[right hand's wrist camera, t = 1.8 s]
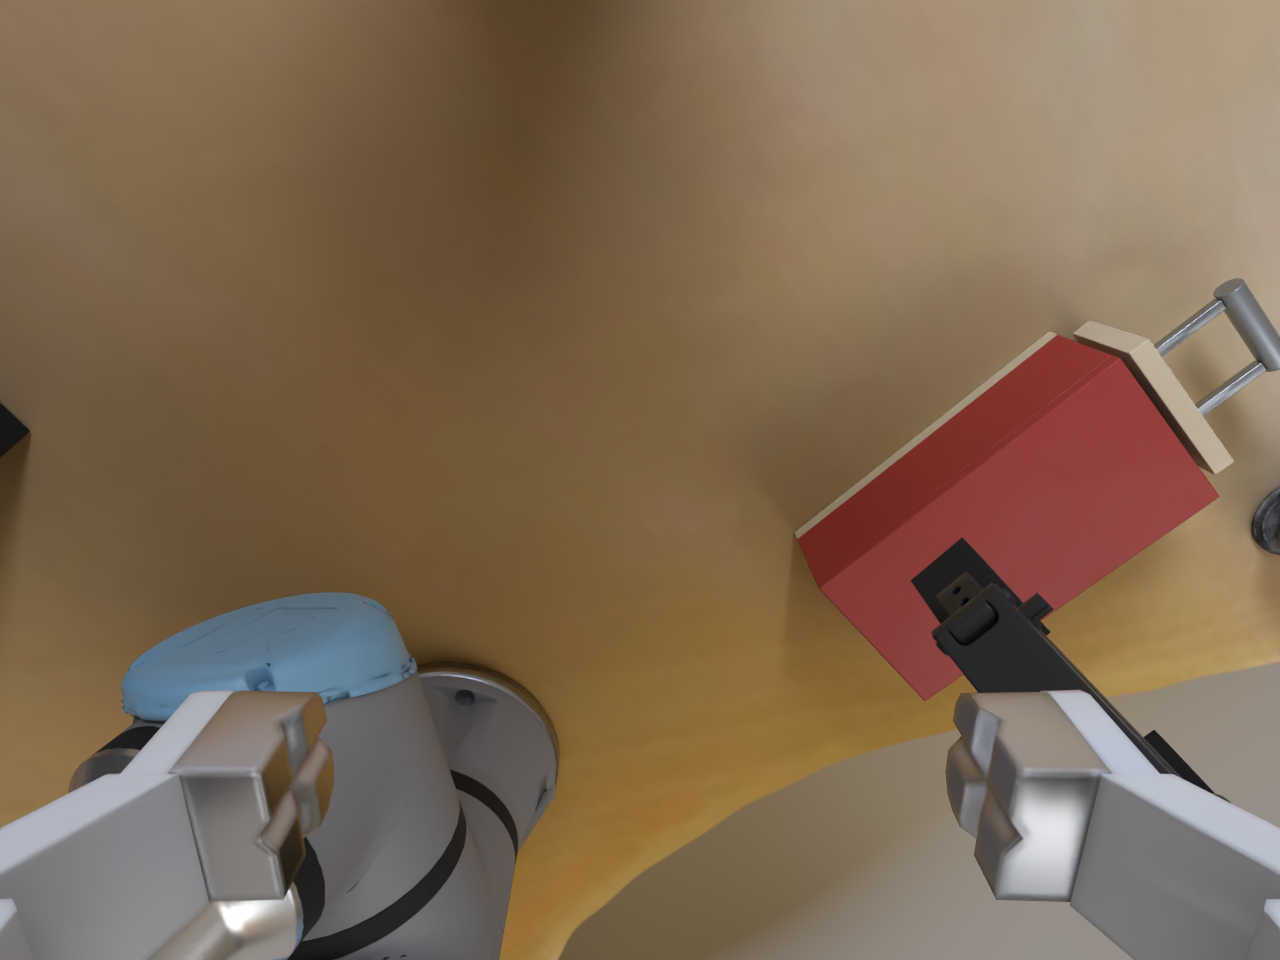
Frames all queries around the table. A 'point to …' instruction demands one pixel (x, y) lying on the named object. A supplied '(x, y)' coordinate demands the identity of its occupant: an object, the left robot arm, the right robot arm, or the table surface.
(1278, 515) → the chess piece
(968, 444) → the cabinet
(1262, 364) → the drawer
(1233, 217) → the table surface
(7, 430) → the cardboard box
